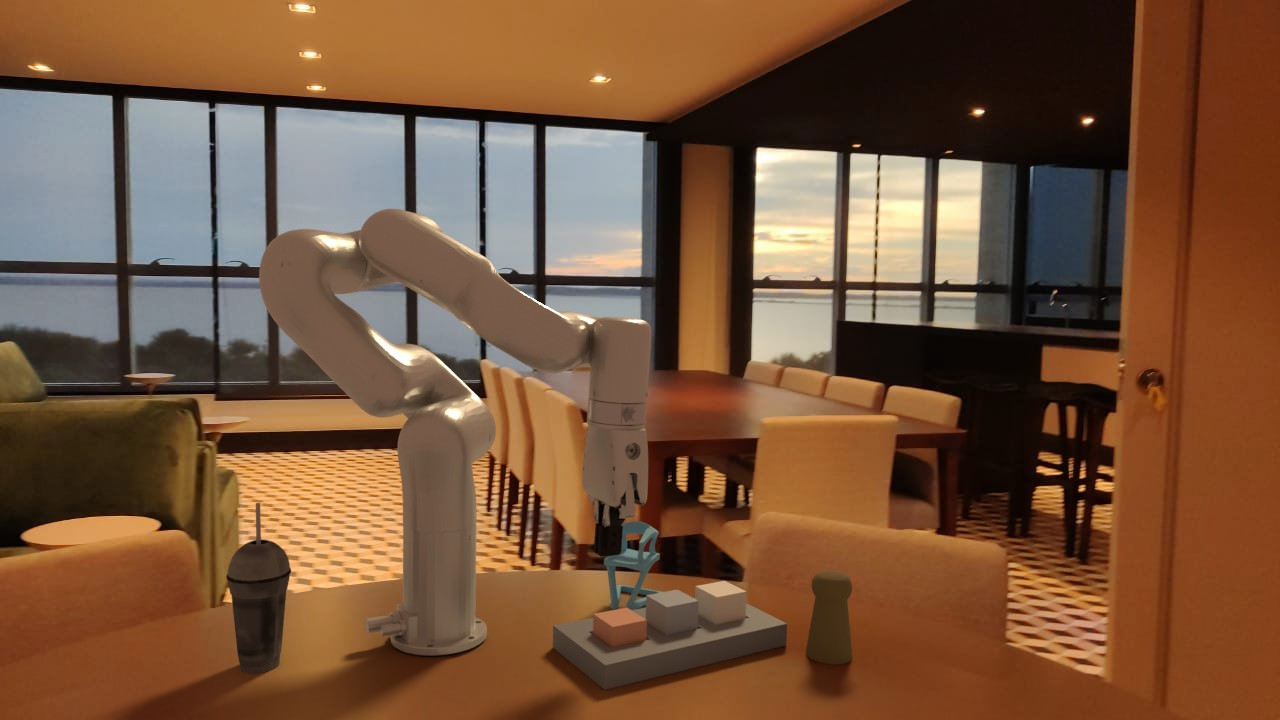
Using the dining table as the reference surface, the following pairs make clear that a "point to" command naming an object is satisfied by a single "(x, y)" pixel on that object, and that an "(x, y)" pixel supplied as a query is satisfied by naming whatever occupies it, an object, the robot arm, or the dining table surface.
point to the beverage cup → (259, 601)
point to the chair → (633, 564)
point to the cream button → (721, 602)
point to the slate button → (671, 612)
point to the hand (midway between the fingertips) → (607, 553)
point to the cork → (830, 619)
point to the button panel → (666, 647)
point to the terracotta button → (619, 627)
